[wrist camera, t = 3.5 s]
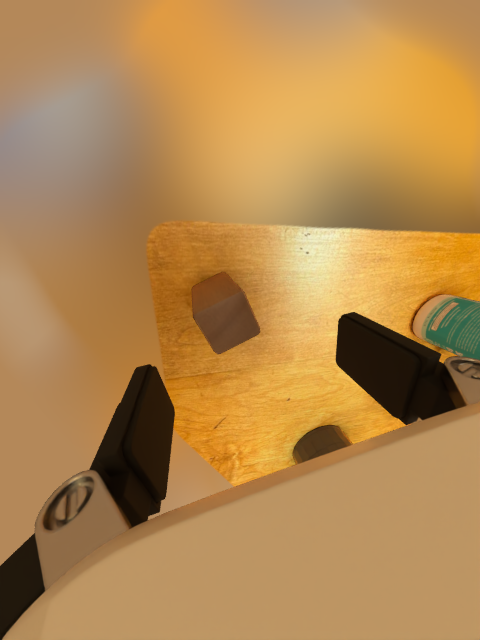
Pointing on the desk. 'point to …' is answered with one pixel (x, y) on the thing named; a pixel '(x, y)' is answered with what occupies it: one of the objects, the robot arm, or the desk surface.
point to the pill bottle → (450, 324)
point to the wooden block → (223, 313)
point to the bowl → (320, 443)
